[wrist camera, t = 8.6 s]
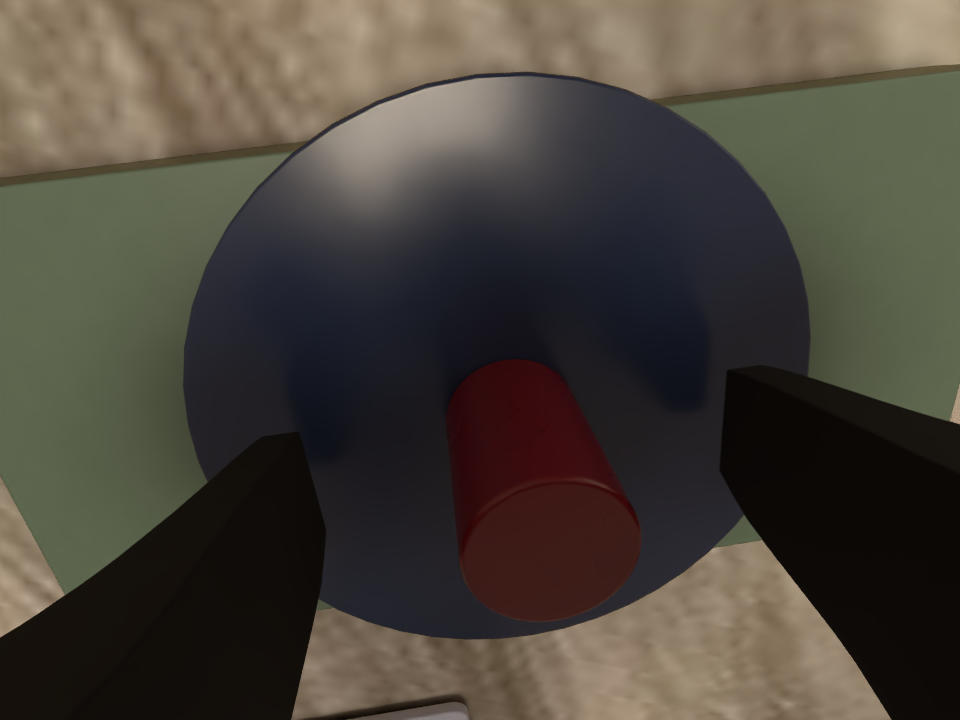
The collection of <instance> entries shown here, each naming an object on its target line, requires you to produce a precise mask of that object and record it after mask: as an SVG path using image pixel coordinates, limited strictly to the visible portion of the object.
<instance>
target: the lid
mask: <svg viewBox="0 0 960 720" xmlns="http://www.w3.org/2000/svg"><path fill="white" fill-rule="evenodd" d="M810 343H811V332H810V318H809V303H808V297H807V293H806V288H805V284H804V279H803V275H802V270H801V266H800V263H799V260H798V258H797V255H796V253H795V250H794V247H793V245H792V242H791V240H790V237H789V235H788V232H787V230H786V227H785V225H784V224H783V222H782V220H781V219H780V217H779V215H778V214H777V212H776V210H775V208H774V207H773V205H772V203H771V202H770V200H769V198H768V196H767V195H766V193H765V192H764V191H763V189H762V188H761V187H760V186H759V184H758V183H757V182H756V181H755V180H754V178H753V177H752V176H751V175H750V174H749V172H748V171H747V170H746V169H745V167H744V166H743V165H742V164H741V163H740V161H739V160H738V159H736V158H735V157H734V156H733V155H732V154H731V153H730V152H728V151H727V150H726V149H725V148H724V147H723V146H722V145H721V144H719V143H718V142H717V141H716V140H715V139H714V138H713V137H711V136H710V135H709V134H708V133H707V132H706V131H704V130H702V129H701V128H699V127H698V126H696V125H694V124H693V123H691V122H690V121H688V120H687V119H685V118H683V117H682V116H680V115H679V114H677V113H675V112H674V111H672V110H671V109H669V108H667V107H665V106H663V105H660V104H658V103H656V102H653V101H651V100H649V99H646V98H644V97H642V96H640V95H637V94H635V93H633V92H630V91H628V90H626V89H622V88H618V87H614V86H611V85H607V84H603V83H599V82H595V81H591V80H588V79H584V78H580V77H573V76H564V75H554V74H545V73H535V72H511V73H488V74H474V75H469V76H464V77H459V78H453V79H448V80H443V81H438V82H432V83H427V84H424V85H421V86H418V87H415V88H412V89H409V90H407V91H404V92H401V93H398V94H395V95H392V96H389V97H386V98H384V99H381V100H378V101H376V102H374V103H372V104H370V105H368V106H366V107H364V108H362V109H360V110H358V111H356V112H354V113H353V114H351V115H349V116H347V117H345V118H343V119H341V120H339V121H337V122H335V123H333V124H332V125H330V126H329V127H327V128H326V129H325V130H323V131H322V132H320V133H319V134H318V135H316V136H315V137H314V138H312V139H311V140H309V141H308V142H307V143H305V144H304V145H302V146H301V147H300V148H298V149H297V150H295V151H294V152H293V153H291V154H290V155H289V156H288V157H287V158H286V159H285V160H284V161H283V162H282V163H281V164H280V165H279V166H278V167H277V168H276V169H275V170H274V171H273V172H272V173H271V174H270V175H269V176H268V177H267V178H266V179H265V180H264V181H263V182H262V183H261V184H259V185H258V186H257V187H256V189H255V190H254V191H253V193H252V194H251V195H250V197H249V198H248V199H247V201H246V202H245V203H244V204H243V206H242V207H241V208H240V210H239V211H238V212H237V214H236V215H235V216H234V218H233V219H232V220H231V222H230V223H229V224H228V226H227V228H226V229H225V231H224V233H223V235H222V237H221V239H220V241H219V242H218V244H217V246H216V248H215V250H214V252H213V253H212V255H211V257H210V259H209V261H208V263H207V265H206V267H205V270H204V273H203V276H202V278H201V281H200V284H199V287H198V290H197V293H196V295H195V298H194V301H193V304H192V307H191V313H190V318H189V323H188V329H187V334H186V339H185V345H184V368H183V391H184V399H185V407H186V415H187V422H188V428H189V431H190V435H191V438H192V442H193V445H194V449H195V452H196V456H197V459H198V462H199V465H200V467H201V469H202V471H203V473H204V476H205V478H206V480H207V482H209V481H210V480H211V479H212V478H213V477H214V476H215V475H217V474H218V473H219V472H220V471H221V470H222V469H223V468H224V467H226V466H227V465H228V464H229V463H230V462H231V461H232V460H234V459H235V458H236V457H237V456H238V455H239V454H240V453H242V452H243V451H244V450H245V449H246V448H248V447H249V446H250V445H251V444H253V443H254V442H255V441H257V440H258V439H259V438H261V437H263V436H270V435H277V434H284V433H291V432H298V431H299V432H300V436H301V439H302V443H303V447H304V450H305V454H306V458H307V461H308V465H309V469H310V472H311V476H312V479H313V483H314V487H315V490H316V494H317V498H318V501H319V505H320V509H321V512H322V516H323V519H324V523H325V527H326V541H325V554H324V565H323V575H322V585H321V590H320V595H319V600H321V601H323V602H324V603H326V604H328V605H330V606H332V607H334V608H336V609H337V610H340V611H342V612H345V613H347V614H350V615H352V616H355V617H357V618H360V619H362V620H365V621H367V622H370V623H373V624H377V625H380V626H384V627H388V628H391V629H395V630H398V631H402V632H408V633H414V634H419V635H425V636H431V637H440V638H453V639H502V638H511V637H519V636H528V635H535V634H539V633H544V632H549V631H554V630H558V629H563V628H567V627H570V626H573V625H577V624H580V623H583V622H586V621H589V620H593V619H596V618H598V617H601V616H603V615H606V614H608V613H610V612H613V611H615V610H618V609H620V608H623V607H625V606H627V605H629V604H631V603H633V602H635V601H637V600H639V599H640V598H642V597H644V596H646V595H648V594H650V593H652V592H654V591H656V590H657V589H659V588H660V587H662V586H663V585H665V584H666V583H668V582H669V581H671V580H672V579H674V578H675V577H677V576H679V575H680V574H682V573H683V572H685V571H686V570H687V569H688V568H689V567H691V566H692V565H693V564H694V563H696V562H697V561H698V560H699V559H701V558H702V557H703V556H704V555H706V554H707V553H708V552H709V551H710V550H711V549H712V548H714V547H715V546H716V545H717V544H718V543H719V542H720V541H721V540H722V539H723V538H724V537H725V536H726V535H727V534H728V533H729V532H730V531H731V530H732V529H733V528H734V527H735V525H736V524H737V523H738V522H739V520H740V519H741V518H742V517H743V516H744V514H743V512H742V510H741V509H740V507H739V505H738V503H737V502H736V500H735V498H734V497H733V495H732V493H731V491H730V489H729V487H728V486H727V484H726V482H725V480H724V478H723V476H722V475H721V473H720V471H719V465H720V452H721V439H722V426H723V413H724V400H725V387H726V374H727V370H729V369H736V368H743V367H750V366H757V365H766V366H771V367H775V368H779V369H783V370H787V371H790V372H794V373H797V374H801V375H804V376H807V377H808V371H809V357H810Z"/></svg>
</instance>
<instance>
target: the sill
mask: <svg viewBox="0 0 960 720" xmlns="http://www.w3.org/2000/svg"><path fill="white" fill-rule="evenodd" d="M651 101H653V102H656V103H658V104H660V105H663V106H665V107H667V108H669V109H671V110H672V111H674V112H675V113H677V114H679V115H680V116H682V117H683V118H685V119H687V120H688V121H690V122H691V123H693V124H694V125H696V126H698V127H699V128H701V129H702V130H704V131H706V132H707V133H708V134H709V135H710V136H711V137H713V138H714V139H715V140H716V141H717V142H718V143H719V144H721V145H722V146H723V147H724V148H725V149H726V150H727V151H728V152H730V153H731V154H732V155H733V156H734V157H735V158H736V159H738V160H739V161H740V163H741V164H742V165H743V166H744V167H745V169H746V170H747V171H748V172H749V174H750V175H751V176H752V177H753V178H754V180H755V181H756V182H757V183H758V184H759V186H760V187H761V188H762V189H763V191H764V192H765V193H766V195H767V196H768V198H769V200H770V202H771V203H772V205H773V207H774V208H775V210H776V212H777V214H778V215H779V217H780V219H781V220H782V222H783V224H784V225H785V227H786V230H787V232H788V235H789V237H790V240H791V242H792V245H793V247H794V250H795V253H796V255H797V258H798V260H799V263H800V266H801V270H802V275H803V279H804V284H805V288H806V293H807V297H808V303H809V318H810V332H811V343H810V357H809V371H808V377H810V378H814V379H817V380H820V381H823V382H826V383H829V384H832V385H835V386H838V387H841V388H844V389H847V390H850V391H853V392H856V393H860V394H863V395H866V396H869V397H872V398H875V399H878V400H881V401H884V402H887V403H890V404H893V405H897V406H900V407H903V408H906V409H909V410H913V411H916V412H919V413H922V414H926V415H929V416H932V417H936V418H939V419H943V420H946V421H950V418H951V414H952V410H953V407H954V403H955V399H956V395H957V391H958V388H959V384H960V64H958V65H941V66H928V67H919V68H911V69H903V70H894V71H886V72H878V73H870V74H861V75H853V76H845V77H836V78H828V79H820V80H811V81H803V82H795V83H786V84H778V85H770V86H762V87H753V88H745V89H737V90H728V91H720V92H712V93H703V94H695V95H687V96H679V97H670V98H662V99H654V100H651ZM307 142H308V141H305V142H297V143H288V144H280V145H272V146H263V147H255V148H247V149H238V150H230V151H222V152H214V153H205V154H197V155H189V156H180V157H172V158H164V159H155V160H147V161H139V162H131V163H122V164H114V165H106V166H97V167H89V168H81V169H72V170H64V171H56V172H48V173H39V174H31V175H23V176H14V177H6V178H0V476H1V478H2V480H3V482H4V484H5V485H6V487H7V489H8V491H9V493H10V495H11V496H12V498H13V500H14V502H15V504H16V506H17V507H18V509H19V511H20V513H21V515H22V517H23V518H24V520H25V522H26V524H27V526H28V528H29V530H30V531H31V533H32V535H33V537H34V539H35V541H36V542H37V544H38V546H39V548H40V550H41V552H42V553H43V555H44V557H45V559H46V561H47V563H48V564H49V566H50V568H51V570H52V572H53V574H54V575H55V577H56V579H57V581H58V583H59V585H60V586H61V588H62V590H63V592H64V594H65V595H66V594H68V593H69V592H71V591H72V590H73V589H75V588H76V587H78V586H79V585H81V584H82V583H84V582H85V581H86V580H88V579H89V578H90V577H92V576H93V575H94V574H96V573H97V572H99V571H100V570H101V569H103V568H104V567H105V566H107V565H108V564H109V563H111V562H112V561H113V560H115V559H116V558H117V557H119V556H120V555H121V554H122V553H124V552H125V551H126V550H127V549H128V548H130V547H131V546H132V545H133V544H135V543H136V542H137V541H138V540H140V539H141V538H142V537H143V536H145V535H146V534H147V533H148V532H150V531H151V530H152V529H153V528H154V527H156V526H157V525H158V524H159V523H161V522H162V521H163V520H164V519H166V518H167V517H168V516H169V515H171V514H172V513H173V512H174V511H175V510H177V509H178V508H179V507H180V506H181V505H182V504H184V503H185V502H186V501H187V500H188V499H189V498H190V497H192V496H193V495H194V494H195V493H196V492H197V491H198V490H200V489H201V488H202V487H203V486H204V485H205V484H206V483H208V482H207V480H206V478H205V476H204V473H203V471H202V469H201V467H200V465H199V462H198V459H197V456H196V452H195V449H194V445H193V442H192V438H191V435H190V431H189V428H188V422H187V415H186V407H185V399H184V391H183V368H184V345H185V339H186V334H187V329H188V323H189V318H190V313H191V307H192V304H193V301H194V298H195V295H196V293H197V290H198V287H199V284H200V281H201V278H202V276H203V273H204V270H205V267H206V265H207V263H208V261H209V259H210V257H211V255H212V253H213V252H214V250H215V248H216V246H217V244H218V242H219V241H220V239H221V237H222V235H223V233H224V231H225V229H226V228H227V226H228V224H229V223H230V222H231V220H232V219H233V218H234V216H235V215H236V214H237V212H238V211H239V210H240V208H241V207H242V206H243V204H244V203H245V202H246V201H247V199H248V198H249V197H250V195H251V194H252V193H253V191H254V190H255V189H256V187H257V186H258V185H259V184H261V183H262V182H263V181H264V180H265V179H266V178H267V177H268V176H269V175H270V174H271V173H272V172H273V171H274V170H275V169H276V168H277V167H278V166H279V165H280V164H281V163H282V162H283V161H284V160H285V159H286V158H287V157H288V156H289V155H290V154H291V153H293V152H294V151H295V150H297V149H298V148H300V147H301V146H302V145H304V144H305V143H307ZM760 540H762V539H761V537H760V536H759V535H758V534H757V532H756V531H755V530H754V528H753V527H752V525H751V524H750V523H749V521H748V520H747V519H746V517H745V515H744V516H743V517H742V518H741V519H740V520H739V522H738V523H737V524H736V525H735V527H734V528H733V529H732V530H731V531H730V532H729V533H728V534H727V535H726V536H725V537H724V538H723V539H722V540H721V541H720V542H719V543H718V544H717V545H716V546H715V547H722V546H728V545H734V544H741V543H747V542H753V541H760ZM715 547H714V548H715ZM330 608H334V607H332V606H330V605H328V604H326V603H324V602H323V601H321V600H319V599H318V604H317V608H316V611H317V610H323V609H330Z"/></svg>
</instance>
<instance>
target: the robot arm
mask: <svg viewBox="0 0 960 720" xmlns="http://www.w3.org/2000/svg"><path fill="white" fill-rule="evenodd" d="M719 471H720V473H721V475H722V476H723V478H724V480H725V482H726V484H727V486H728V487H729V489H730V491H731V493H732V495H733V497H734V498H735V500H736V502H737V503H738V505H739V507H740V509H741V510H742V512H743V514H744V515H745V517H746V519H747V520H748V521H749V523H750V524H751V525H752V527H753V528H754V530H755V531H756V532H757V534H758V535H759V536H760V537H761V539H762V540H763V541H764V543H765V544H766V545H767V547H768V548H769V549H770V551H771V552H772V553H773V555H774V556H775V557H776V558H777V560H778V561H779V562H780V564H781V565H782V566H783V567H784V569H785V570H786V571H787V573H788V574H789V575H790V576H791V578H792V579H793V580H794V582H795V583H796V584H797V585H798V587H799V588H800V589H801V591H802V592H803V593H804V594H805V596H806V597H807V598H808V600H809V601H810V602H811V603H812V605H813V606H814V607H815V609H816V610H817V611H818V612H819V614H820V615H821V616H822V618H823V619H824V620H825V621H826V623H827V624H828V625H829V627H830V628H831V629H832V630H833V632H834V633H835V634H836V636H837V637H838V639H839V640H840V641H841V643H842V644H843V646H844V647H845V648H846V650H847V651H848V653H849V654H850V655H851V657H852V658H853V660H854V661H855V663H856V664H857V666H858V667H859V669H860V670H861V672H862V674H863V675H864V677H865V678H866V680H867V681H868V683H869V685H870V686H871V688H872V689H873V691H874V692H875V694H876V696H877V697H878V699H879V700H880V702H881V704H882V705H883V707H884V708H885V710H886V711H887V713H888V715H889V716H890V718H891V719H892V720H960V424H957V423H953V422H950V421H946V420H943V419H939V418H936V417H932V416H929V415H926V414H922V413H919V412H916V411H913V410H909V409H906V408H903V407H900V406H897V405H893V404H890V403H887V402H884V401H881V400H878V399H875V398H872V397H869V396H866V395H863V394H860V393H856V392H853V391H850V390H847V389H844V388H841V387H838V386H835V385H832V384H829V383H826V382H823V381H820V380H817V379H814V378H810V377H807V376H804V375H801V374H797V373H794V372H790V371H787V370H783V369H779V368H775V367H771V366H766V365H757V366H750V367H743V368H736V369H729V370H727V374H726V387H725V400H724V413H723V426H722V439H721V452H720V465H719ZM325 541H326V527H325V523H324V519H323V516H322V512H321V509H320V505H319V501H318V498H317V494H316V490H315V487H314V483H313V479H312V476H311V472H310V469H309V465H308V461H307V458H306V454H305V450H304V447H303V443H302V439H301V436H300V432H299V431H298V432H291V433H284V434H277V435H270V436H263V437H261V438H259V439H258V440H257V441H255V442H254V443H253V444H251V445H250V446H249V447H248V448H246V449H245V450H244V451H243V452H242V453H240V454H239V455H238V456H237V457H236V458H235V459H234V460H232V461H231V462H230V463H229V464H228V465H227V466H226V467H224V468H223V469H222V470H221V471H220V472H219V473H218V474H217V475H215V476H214V477H213V478H212V479H211V480H210V481H209V482H208V483H206V484H205V485H204V486H203V487H202V488H201V489H200V490H198V491H197V492H196V493H195V494H194V495H193V496H192V497H190V498H189V499H188V500H187V501H186V502H185V503H184V504H182V505H181V506H180V507H179V508H178V509H177V510H175V511H174V512H173V513H172V514H171V515H169V516H168V517H167V518H166V519H164V520H163V521H162V522H161V523H159V524H158V525H157V526H156V527H154V528H153V529H152V530H151V531H150V532H148V533H147V534H146V535H145V536H143V537H142V538H141V539H140V540H138V541H137V542H136V543H135V544H133V545H132V546H131V547H130V548H128V549H127V550H126V551H125V552H124V553H122V554H121V555H120V556H119V557H117V558H116V559H115V560H113V561H112V562H111V563H109V564H108V565H107V566H105V567H104V568H103V569H101V570H100V571H99V572H97V573H96V574H94V575H93V576H92V577H90V578H89V579H88V580H86V581H85V582H84V583H82V584H81V585H79V586H78V587H76V588H75V589H73V590H72V591H71V592H69V593H68V594H66V595H65V596H63V597H62V598H60V599H59V600H58V601H56V602H55V603H53V604H52V605H50V606H49V607H47V608H46V609H44V610H43V611H42V612H40V613H39V614H37V615H35V616H34V617H32V618H31V619H29V620H28V621H26V622H25V623H23V624H22V625H20V626H18V627H17V628H15V629H14V630H12V631H10V632H9V633H7V634H5V635H4V636H2V637H1V638H0V720H291V718H292V714H293V709H294V705H295V701H296V696H297V692H298V688H299V683H300V679H301V674H302V670H303V666H304V661H305V657H306V653H307V648H308V644H309V640H310V635H311V631H312V626H313V622H314V617H315V613H316V608H317V604H318V599H319V595H320V590H321V585H322V575H323V565H324V554H325ZM347 720H470V718H469V713H468V709H467V707H466V706H465V705H463V704H462V703H458V702H449V703H443V704H437V705H431V706H425V707H419V708H413V709H407V710H401V711H395V712H389V713H383V714H377V715H371V716H365V717H359V718H353V719H347Z"/></svg>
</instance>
